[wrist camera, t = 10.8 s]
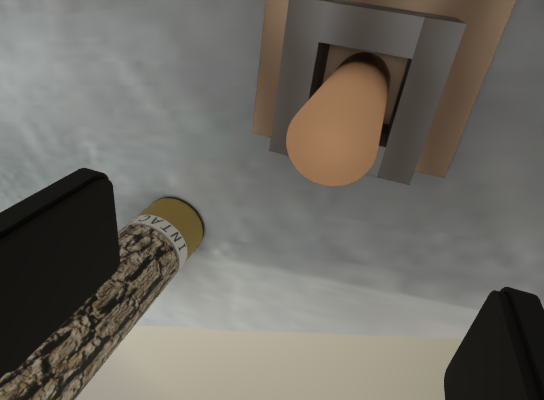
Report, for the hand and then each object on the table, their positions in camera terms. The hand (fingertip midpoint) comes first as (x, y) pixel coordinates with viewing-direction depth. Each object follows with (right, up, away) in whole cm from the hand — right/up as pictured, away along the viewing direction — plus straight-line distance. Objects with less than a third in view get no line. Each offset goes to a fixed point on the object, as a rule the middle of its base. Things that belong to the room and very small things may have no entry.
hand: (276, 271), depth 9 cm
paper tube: (-11, -1, +33) cm, 35 cm away
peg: (+7, +11, +19) cm, 23 cm away
